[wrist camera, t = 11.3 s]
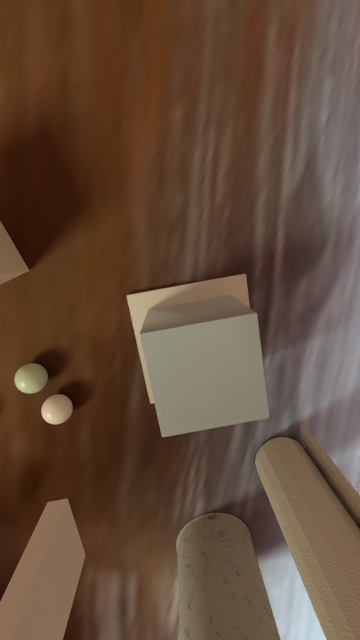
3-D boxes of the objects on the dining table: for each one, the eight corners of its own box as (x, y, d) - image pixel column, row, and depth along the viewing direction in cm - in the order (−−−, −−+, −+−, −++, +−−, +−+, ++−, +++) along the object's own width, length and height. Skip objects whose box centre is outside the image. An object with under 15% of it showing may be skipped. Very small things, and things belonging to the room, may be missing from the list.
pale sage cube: (163, 385, 31) (162, 437, 22) (147, 309, 29) (139, 334, 21) (240, 371, 31) (269, 417, 23) (230, 294, 29) (257, 312, 21)
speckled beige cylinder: (198, 501, 36) (214, 627, 24) (265, 528, 37) (312, 660, 25) (163, 558, 37) (161, 702, 25) (227, 581, 39) (255, 729, 27)
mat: (150, 401, 32) (150, 403, 32) (127, 294, 30) (126, 295, 29) (257, 381, 32) (259, 384, 32) (244, 273, 30) (245, 274, 29)
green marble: (28, 387, 31) (13, 401, 28) (19, 361, 31) (4, 373, 28) (55, 382, 31) (44, 395, 28) (48, 356, 31) (35, 367, 28)
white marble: (53, 406, 33) (43, 431, 30) (42, 389, 31) (32, 414, 28) (79, 404, 32) (72, 429, 30) (70, 387, 31) (62, 411, 28)
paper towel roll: (266, 487, 36) (407, 820, 15) (245, 449, 34) (367, 756, 13) (320, 461, 35) (546, 768, 14) (301, 422, 34) (518, 696, 13)
